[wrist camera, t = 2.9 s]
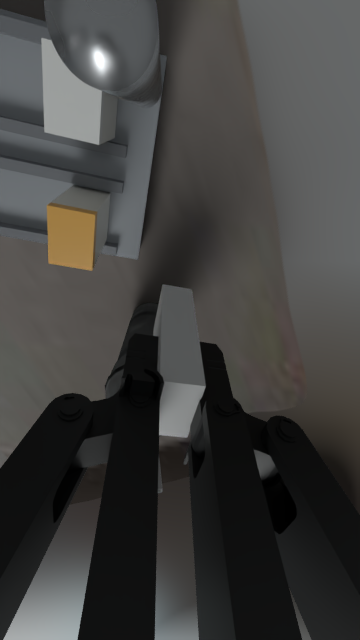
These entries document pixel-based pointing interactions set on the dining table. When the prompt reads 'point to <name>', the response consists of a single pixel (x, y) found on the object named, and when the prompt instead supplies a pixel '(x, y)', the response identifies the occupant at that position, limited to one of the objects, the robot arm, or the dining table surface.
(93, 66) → the post
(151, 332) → the beverage cup
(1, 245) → the dining table surface
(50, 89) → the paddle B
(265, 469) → the robot arm
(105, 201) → the grey orange block
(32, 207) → the panel
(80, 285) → the dining table surface
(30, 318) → the dining table surface
